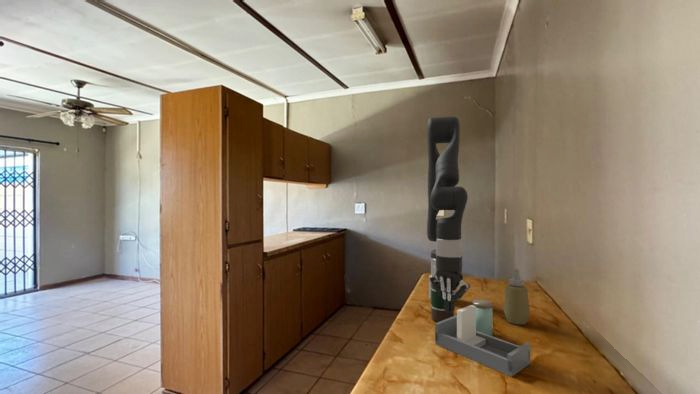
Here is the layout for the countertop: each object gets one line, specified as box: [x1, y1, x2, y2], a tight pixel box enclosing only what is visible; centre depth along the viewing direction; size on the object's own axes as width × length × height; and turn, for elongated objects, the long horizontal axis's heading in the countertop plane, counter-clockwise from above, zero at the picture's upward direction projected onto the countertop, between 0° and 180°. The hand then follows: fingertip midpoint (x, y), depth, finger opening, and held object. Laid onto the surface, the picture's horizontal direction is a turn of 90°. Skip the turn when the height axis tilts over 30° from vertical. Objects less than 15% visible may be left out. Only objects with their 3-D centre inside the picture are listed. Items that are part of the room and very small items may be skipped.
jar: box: [472, 298, 494, 337], centre depth 101 cm, size 6×6×10 cm
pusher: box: [456, 304, 486, 348], centre depth 91 cm, size 4×7×10 cm, turn 128°
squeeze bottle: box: [503, 268, 531, 326], centre depth 111 cm, size 8×8×18 cm
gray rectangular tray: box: [434, 314, 531, 378], centre depth 89 cm, size 22×10×6 cm, turn 38°
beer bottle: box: [430, 269, 455, 323], centre depth 113 cm, size 8×8×24 cm
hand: (449, 312), depth 97 cm, fingers closed
